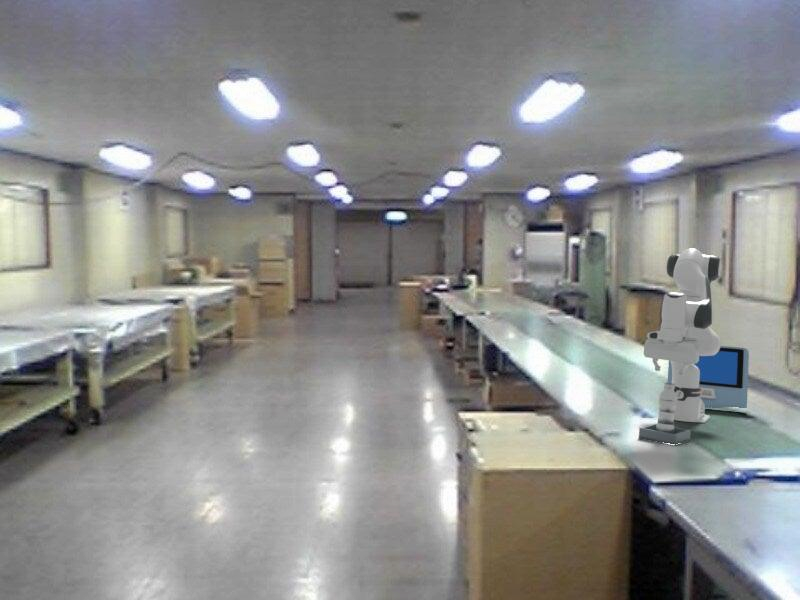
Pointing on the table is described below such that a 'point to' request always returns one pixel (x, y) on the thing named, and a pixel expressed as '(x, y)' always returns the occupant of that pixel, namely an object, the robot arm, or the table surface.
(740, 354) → the touchscreen device
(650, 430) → the box
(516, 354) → the table surface
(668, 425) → the plastic bottle
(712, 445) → the table surface
